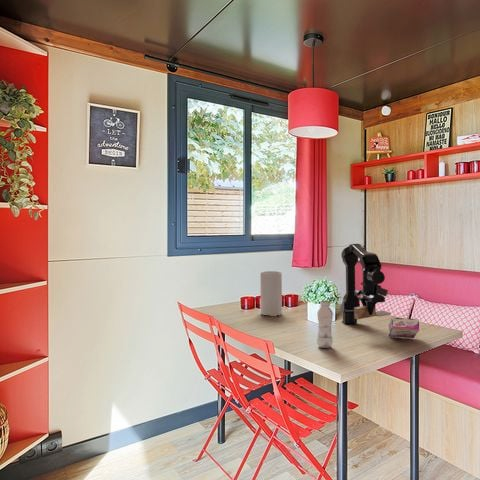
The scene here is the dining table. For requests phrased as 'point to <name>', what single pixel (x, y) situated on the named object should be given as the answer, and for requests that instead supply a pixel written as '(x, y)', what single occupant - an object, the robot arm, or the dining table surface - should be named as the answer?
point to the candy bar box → (403, 327)
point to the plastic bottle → (324, 325)
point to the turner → (363, 312)
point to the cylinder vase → (271, 293)
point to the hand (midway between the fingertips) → (369, 314)
